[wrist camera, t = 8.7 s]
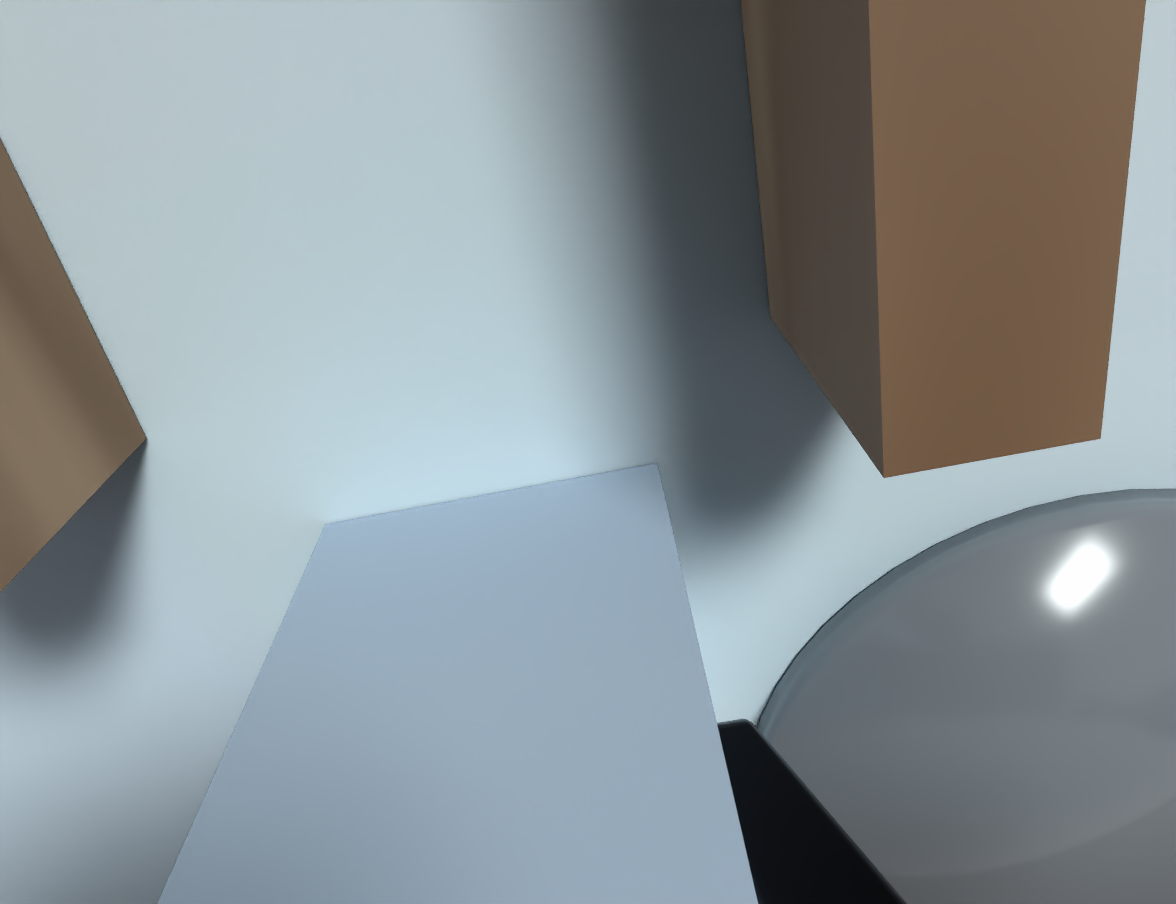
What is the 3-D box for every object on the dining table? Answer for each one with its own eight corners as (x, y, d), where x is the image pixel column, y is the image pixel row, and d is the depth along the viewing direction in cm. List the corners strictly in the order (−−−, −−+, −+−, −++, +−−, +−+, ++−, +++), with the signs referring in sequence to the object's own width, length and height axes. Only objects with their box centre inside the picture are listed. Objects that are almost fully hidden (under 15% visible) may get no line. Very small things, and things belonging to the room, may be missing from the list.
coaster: (1466, 426, 10) (1517, 450, 9) (1311, 902, 14) (1340, 937, 14) (711, 561, 10) (719, 590, 10) (774, 982, 15) (783, 1018, 14)
